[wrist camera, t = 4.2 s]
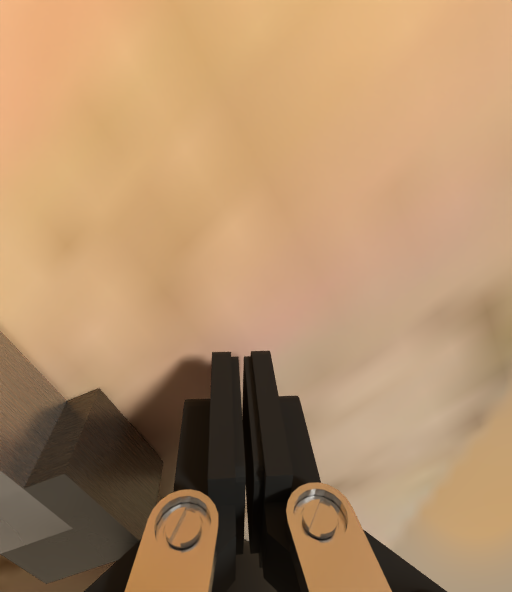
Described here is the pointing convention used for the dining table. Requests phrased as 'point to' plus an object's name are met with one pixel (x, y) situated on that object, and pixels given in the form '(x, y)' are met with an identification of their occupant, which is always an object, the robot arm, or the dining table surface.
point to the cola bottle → (249, 573)
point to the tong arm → (68, 475)
